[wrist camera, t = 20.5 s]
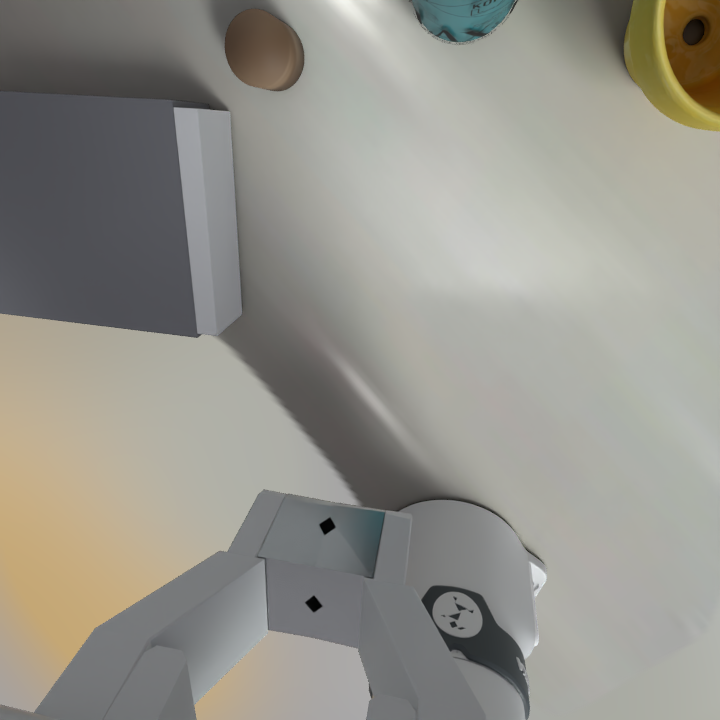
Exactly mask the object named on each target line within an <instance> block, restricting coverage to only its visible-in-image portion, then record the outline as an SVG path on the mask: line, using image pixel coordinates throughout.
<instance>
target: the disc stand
mask: <svg viewBox="0 0 720 720" xmlns="http://www.w3.org/2000/svg"><path fill="white" fill-rule="evenodd" d="M225 53H226V58H227V61H228V64H229V66H230V68H231V70H232V71H233V73H234V74H235V75H236V76H237V77H238V78H239V79H240V80H241V81H242V82H244V83H245V84H248V85H250V86H253V87H258V88H262V89H267V90H271V91H283V90H286V89H288V88H290V87H291V86H293V85H294V84H295V83H296V82H297V80H298V79H299V77H300V75H301V73H302V70H303V66H304V50H303V46H302V43H301V40H300V38H299V37H298V35H297V34H296V32H295V31H294V30H293V29H292V28H291V27H290V26H288V25H287V24H285V23H284V22H282V21H280V20H279V19H277V18H276V17H274V16H273V15H271V14H269V13H268V12H266V11H264V10H260V9H248V10H245V11H242V12H241V13H239V14H238V15H237V16H236V17H235V18H234V19H233V20H232V22H231V23H230V25H229V27H228V29H227V32H226V37H225Z"/></svg>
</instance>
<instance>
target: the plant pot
mask: <svg viewBox="0 0 720 720" xmlns="http://www.w3.org/2000/svg"><path fill="white" fill-rule="evenodd" d="M693 19H699V20H701V21H702V22H703V23H704V27H705V31H704V35H703V38H702V39H701V40H700V41H699V42H698V43H697V44H695V45H688V44H687V43H686V42H685V41H684V39H683V31H684V28H685V27H686V25H687V24H688V23H689V22H690V21H691V20H693ZM624 58H625V63H626V67H627V70H628V72H629V74H630V76H631V78H632V79H633V80H634V82H635V83H636V84H637V85H638V86H639V87H640V88H641V89H642V91H643V93H644V94H645V96H646V97H647V98H648V100H649V101H650V102H651V103H652V104H653V105H654V106H655V107H656V108H657V109H658V110H659V111H660V112H661V113H663V114H664V115H665V116H667V117H669V118H670V119H672V120H674V121H675V122H678V123H680V124H683V125H685V126H688V127H692V128H696V129H702V130H710V131H720V0H633V5H632V9H631V15H630V19H629V22H628V25H627V29H626V33H625V39H624Z"/></svg>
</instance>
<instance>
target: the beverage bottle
mask: <svg viewBox="0 0 720 720" xmlns="http://www.w3.org/2000/svg"><path fill="white" fill-rule="evenodd" d="M411 1H412V2H413V5H414V8H415V11H416V14H417V18H416V19H418V20H419V22H420V23H421V24H422V23H423V25H424V26H425V27H426V28H427V29H428V30H429V32H430V33H432V34H433V35H435V36H437V37H439V38H441V39H444V40H447V41H451V42H466V41H471V40H474V39H477V38H480V37H482V36H484V35H486V34H488V33H489V32H490V31H491V30H493V29H494V28H495V27H496V26H497V25H498V24H499V23H501V22H502V20H503V19H504V18H505V16H506V15H507V14H508V12H509V11H510V9H511V7H512V6H513V7H512V9H511V11H510V13H511V12H512V10H513V9H514V7H515V6H516V3H517V1H518V0H517V1H516V2H515V0H411ZM411 1H410V2H411ZM514 2H515V3H514ZM414 15H415V14H414ZM508 16H509V15H508ZM507 18H508V17H507ZM421 26H422V25H421ZM425 27H422V28H425ZM425 30H426V29H425ZM495 30H496V29H495ZM426 31H427V30H426ZM428 34H429V33H428ZM491 34H492V32H491ZM488 35H489V34H488ZM435 36H434V37H435ZM486 36H487V35H486ZM432 37H433V36H432ZM484 37H485V36H484ZM482 38H483V37H482ZM435 39H436V38H435ZM437 40H438V38H437ZM439 41H440V40H439ZM442 41H443V40H442ZM447 41H445V42H447ZM451 42H448V44H449V43H451ZM472 42H473V41H472ZM466 43H468V42H466ZM456 44H457V43H456ZM456 44H455V45H456ZM469 44H470V43H469ZM458 45H464V44H460V43H459V44H458Z"/></svg>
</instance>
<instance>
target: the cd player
mask: <svg viewBox="0 0 720 720" xmlns="http://www.w3.org/2000/svg"><path fill="white" fill-rule="evenodd" d="M173 107H177V108H195V109H208V110H209V104H204V103H195V102H186V101H177V100H163V99H144V98H125V97H106V96H87V95H68V94H49V93H30V92H10V91H0V313H2V314H9V315H17V316H26V317H33V318H42V319H50V320H58V321H67V322H75V323H82V324H90V325H98V326H108V327H115V328H123V329H131V330H140V331H147V332H156V333H163V334H172V335H180V336H188V337H196V338H197V337H199V336H200V335H201V334H197V324H196V315H195V306H194V296H193V287H192V277H191V268H190V259H189V249H188V240H187V230H186V221H185V212H184V202H183V193H182V183H181V174H180V165H179V155H178V146H177V136H176V127H175V118H174V108H173Z"/></svg>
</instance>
